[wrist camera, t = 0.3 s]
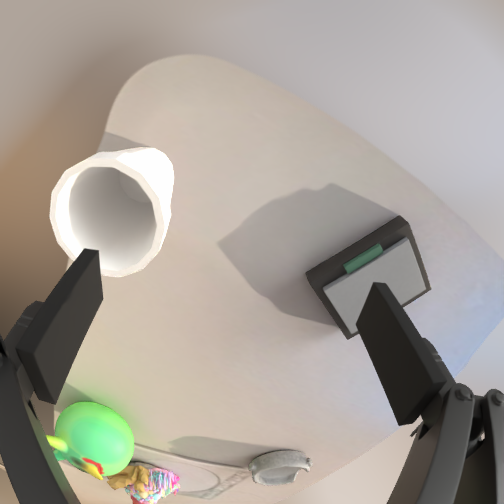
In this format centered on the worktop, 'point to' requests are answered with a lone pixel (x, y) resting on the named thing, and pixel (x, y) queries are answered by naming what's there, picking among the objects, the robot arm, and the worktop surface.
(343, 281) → the scale
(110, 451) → the toy bird
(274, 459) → the dish
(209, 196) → the worktop surface
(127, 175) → the foam cup
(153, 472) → the candy landscape model
